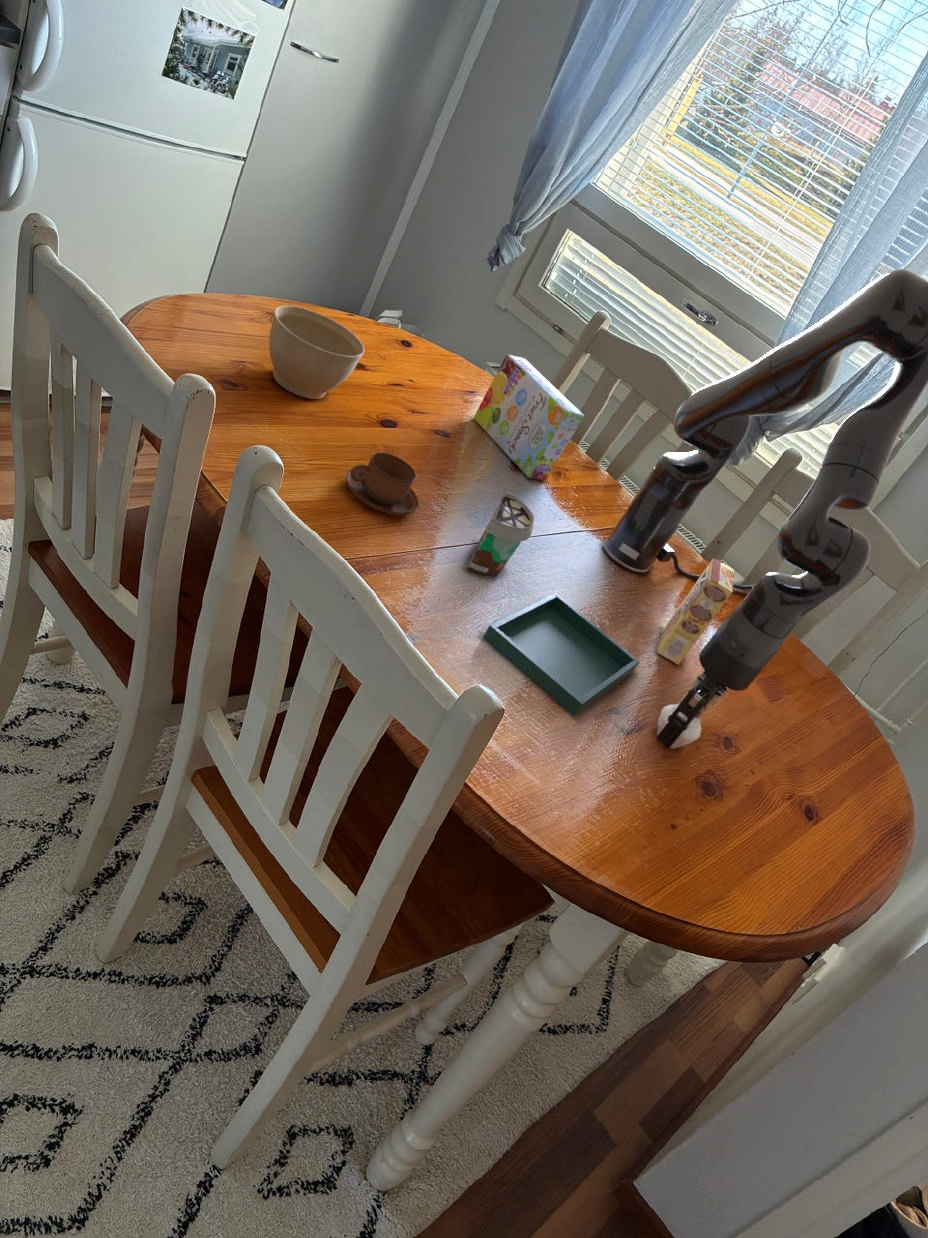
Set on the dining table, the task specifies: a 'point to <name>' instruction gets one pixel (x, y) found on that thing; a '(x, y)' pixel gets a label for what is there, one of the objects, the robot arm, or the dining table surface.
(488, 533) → the food container
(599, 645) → the tray
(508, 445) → the snack box
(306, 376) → the planter bowl
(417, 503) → the cup and saucer
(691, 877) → the dining table surface
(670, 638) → the candy box
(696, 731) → the muffin
